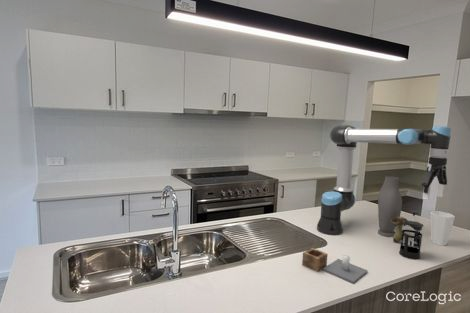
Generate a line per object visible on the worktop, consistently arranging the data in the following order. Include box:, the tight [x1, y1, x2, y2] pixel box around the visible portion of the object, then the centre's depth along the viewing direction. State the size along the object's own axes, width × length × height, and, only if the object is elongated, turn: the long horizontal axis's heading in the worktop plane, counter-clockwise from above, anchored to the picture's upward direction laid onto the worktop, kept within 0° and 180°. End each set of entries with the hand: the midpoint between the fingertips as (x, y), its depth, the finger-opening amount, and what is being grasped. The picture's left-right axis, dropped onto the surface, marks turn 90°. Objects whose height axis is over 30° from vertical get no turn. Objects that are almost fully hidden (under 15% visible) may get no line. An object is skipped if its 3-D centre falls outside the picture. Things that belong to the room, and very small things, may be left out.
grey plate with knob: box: [322, 254, 368, 285], centre depth 130 cm, size 14×14×7 cm
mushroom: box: [391, 216, 409, 243], centre depth 163 cm, size 9×9×15 cm
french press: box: [398, 210, 424, 260], centre depth 147 cm, size 12×9×23 cm
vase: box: [377, 175, 403, 238], centre depth 174 cm, size 13×13×35 cm
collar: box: [301, 247, 328, 273], centre depth 135 cm, size 8×8×6 cm
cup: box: [429, 210, 456, 247], centre depth 164 cm, size 11×10×17 cm
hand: (432, 197), depth 149 cm, fingers open, 13 cm apart
